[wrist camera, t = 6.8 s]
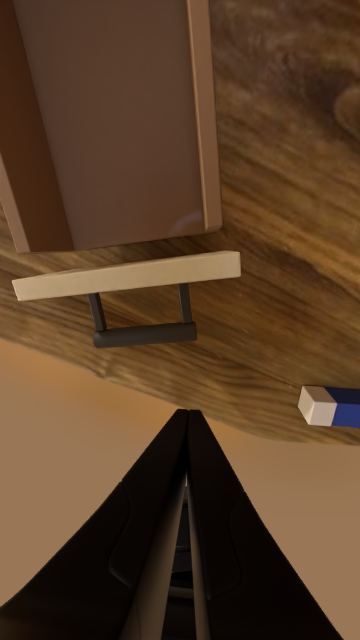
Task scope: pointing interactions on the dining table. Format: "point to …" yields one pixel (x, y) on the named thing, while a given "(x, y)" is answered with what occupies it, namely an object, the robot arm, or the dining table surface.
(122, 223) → the drawer
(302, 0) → the dining table surface
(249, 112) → the dining table surface
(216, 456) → the robot arm
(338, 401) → the eraser
